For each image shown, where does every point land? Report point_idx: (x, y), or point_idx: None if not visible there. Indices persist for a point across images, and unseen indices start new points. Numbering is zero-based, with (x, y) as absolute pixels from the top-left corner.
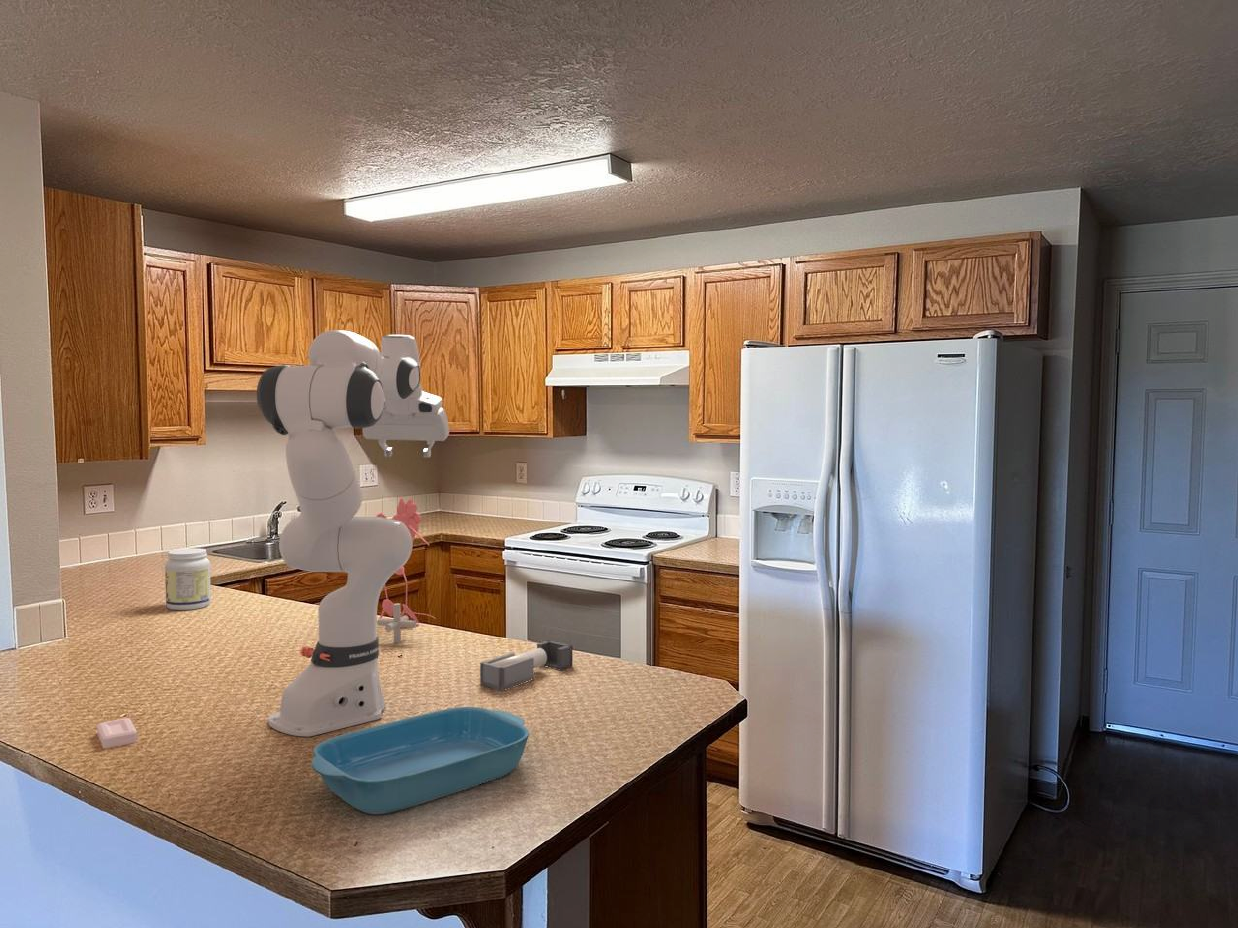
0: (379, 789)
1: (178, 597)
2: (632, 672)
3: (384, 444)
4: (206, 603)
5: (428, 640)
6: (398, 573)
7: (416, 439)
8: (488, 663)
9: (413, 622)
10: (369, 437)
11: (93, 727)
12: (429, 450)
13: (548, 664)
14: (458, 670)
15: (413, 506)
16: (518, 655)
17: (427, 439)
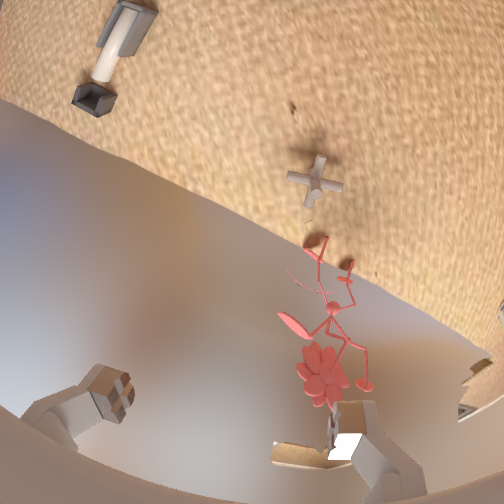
0: None
1: None
2: (41, 96)
3: (378, 471)
4: (501, 305)
5: (273, 180)
6: (333, 301)
7: (80, 460)
8: (136, 9)
9: (288, 173)
10: (495, 486)
11: None
12: (72, 386)
13: (103, 90)
14: (197, 55)
15: (310, 389)
16: (109, 44)
17: (19, 426)
